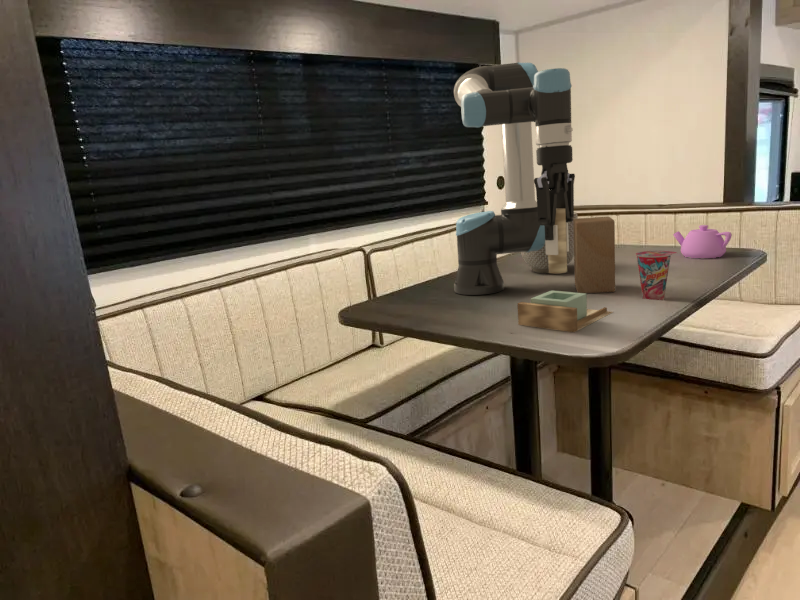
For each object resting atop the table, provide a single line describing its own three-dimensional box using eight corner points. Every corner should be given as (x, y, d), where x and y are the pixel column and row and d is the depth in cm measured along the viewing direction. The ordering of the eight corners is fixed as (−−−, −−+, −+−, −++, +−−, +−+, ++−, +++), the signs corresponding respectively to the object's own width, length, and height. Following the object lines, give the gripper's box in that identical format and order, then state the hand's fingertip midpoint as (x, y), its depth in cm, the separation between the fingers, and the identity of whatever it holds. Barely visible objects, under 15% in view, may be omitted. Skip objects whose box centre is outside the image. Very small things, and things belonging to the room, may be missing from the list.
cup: (650, 304, 148) (650, 257, 145) (628, 298, 156) (628, 253, 153) (681, 299, 150) (682, 252, 147) (658, 293, 158) (659, 248, 155)
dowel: (545, 272, 134) (543, 210, 131) (554, 269, 137) (552, 208, 134) (561, 273, 131) (559, 210, 128) (570, 270, 134) (568, 208, 131)
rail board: (518, 328, 137) (517, 303, 136) (560, 309, 150) (559, 286, 149) (574, 336, 128) (573, 309, 126) (613, 315, 141) (613, 291, 139)
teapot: (683, 251, 216) (684, 222, 214) (740, 255, 200) (742, 223, 198) (662, 257, 209) (662, 226, 206) (719, 261, 193) (720, 228, 190)
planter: (569, 277, 189) (567, 217, 185) (510, 275, 200) (507, 218, 195) (585, 265, 205) (584, 210, 201) (530, 265, 216) (528, 212, 212)
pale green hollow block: (531, 323, 137) (530, 298, 135) (551, 314, 143) (551, 290, 141) (567, 328, 130) (566, 302, 129) (586, 319, 137) (586, 293, 135)
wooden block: (615, 292, 164) (614, 219, 159) (577, 294, 166) (576, 222, 161) (610, 284, 173) (609, 216, 169) (574, 286, 175) (573, 218, 171)
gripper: (548, 145, 120) (552, 259, 124) (589, 142, 131) (591, 247, 136) (517, 148, 125) (522, 258, 130) (558, 145, 136) (561, 246, 141)
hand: (557, 252), depth 133 cm, fingers closed on dowel, 4 cm apart
